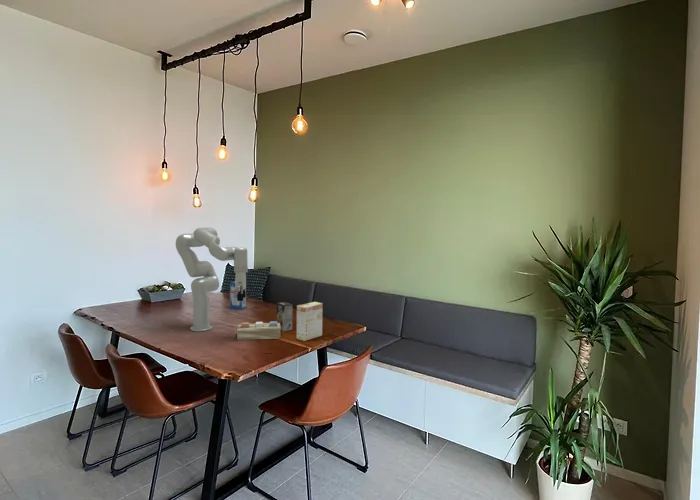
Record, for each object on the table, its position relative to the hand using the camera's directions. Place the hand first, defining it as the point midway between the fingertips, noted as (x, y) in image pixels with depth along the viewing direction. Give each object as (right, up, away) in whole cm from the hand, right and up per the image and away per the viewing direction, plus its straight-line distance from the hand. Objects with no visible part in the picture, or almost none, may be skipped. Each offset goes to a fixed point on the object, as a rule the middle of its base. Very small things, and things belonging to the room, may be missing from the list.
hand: (241, 299), depth 231 cm
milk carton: (-22, -16, +73) cm, 78 cm away
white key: (+9, -18, +4) cm, 21 cm away
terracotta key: (+1, -18, +3) cm, 18 cm away
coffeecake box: (+38, -23, +5) cm, 45 cm away
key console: (+9, -22, +4) cm, 24 cm away
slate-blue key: (+17, -18, +6) cm, 26 cm away
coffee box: (+21, -21, +21) cm, 37 cm away
